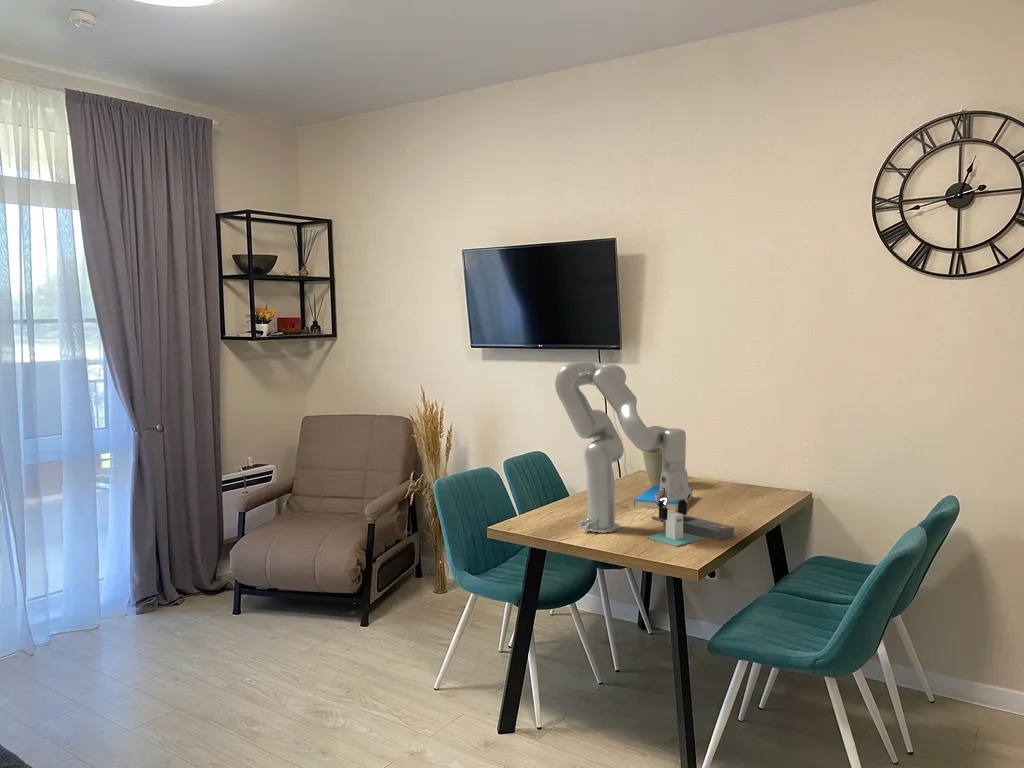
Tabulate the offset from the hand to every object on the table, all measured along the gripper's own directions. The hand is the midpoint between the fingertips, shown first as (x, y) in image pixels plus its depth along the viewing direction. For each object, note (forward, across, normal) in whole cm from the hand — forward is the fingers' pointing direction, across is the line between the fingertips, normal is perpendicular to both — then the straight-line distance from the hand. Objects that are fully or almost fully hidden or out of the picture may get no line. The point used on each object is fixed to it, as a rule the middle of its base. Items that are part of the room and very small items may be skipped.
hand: (672, 516), depth 251 cm
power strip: (+8, +14, +5) cm, 16 cm away
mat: (+8, 0, -1) cm, 8 cm away
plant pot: (+8, +56, +54) cm, 78 cm away
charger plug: (+7, 0, -1) cm, 7 cm away
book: (+9, +35, +34) cm, 49 cm away
